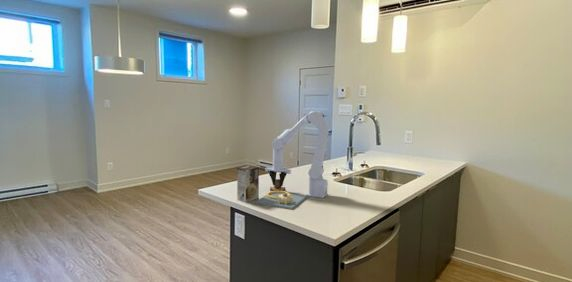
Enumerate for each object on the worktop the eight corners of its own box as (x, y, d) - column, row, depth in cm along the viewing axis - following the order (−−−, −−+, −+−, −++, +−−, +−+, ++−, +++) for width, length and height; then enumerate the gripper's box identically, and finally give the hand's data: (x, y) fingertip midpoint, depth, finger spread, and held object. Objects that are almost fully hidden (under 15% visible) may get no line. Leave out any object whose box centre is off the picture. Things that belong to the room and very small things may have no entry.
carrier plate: (306, 198, 159) (306, 188, 158) (292, 209, 141) (292, 198, 141) (272, 193, 166) (272, 184, 165) (255, 203, 149) (255, 193, 148)
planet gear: (288, 189, 173) (288, 179, 172) (281, 193, 165) (281, 182, 164) (273, 187, 176) (274, 177, 176) (267, 191, 168) (267, 180, 168)
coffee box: (250, 195, 161) (250, 164, 159) (259, 198, 157) (259, 166, 155) (236, 199, 154) (236, 167, 152) (245, 202, 150) (245, 169, 148)
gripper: (293, 160, 170) (292, 185, 171) (269, 158, 175) (269, 182, 177) (288, 162, 163) (287, 188, 165) (263, 160, 169) (263, 185, 170)
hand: (277, 185), depth 170 cm, fingers closed on planet gear, 4 cm apart
